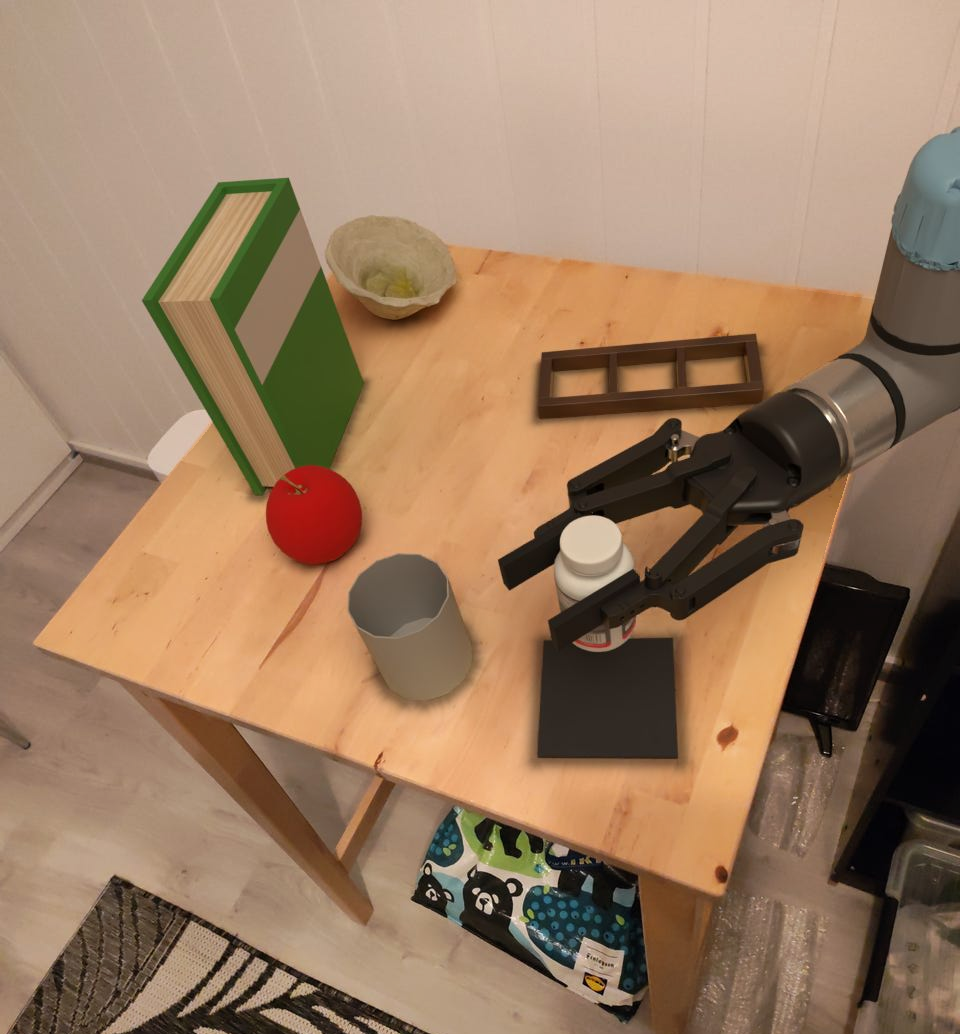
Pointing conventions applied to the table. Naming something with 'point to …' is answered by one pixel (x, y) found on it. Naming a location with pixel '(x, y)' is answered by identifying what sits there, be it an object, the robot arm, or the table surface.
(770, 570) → the table surface
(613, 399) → the bottle rack
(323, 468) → the fruit
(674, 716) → the mat
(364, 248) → the bowl
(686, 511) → the table surface
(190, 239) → the hardback book
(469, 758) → the table surface
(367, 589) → the cup
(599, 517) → the pill bottle
